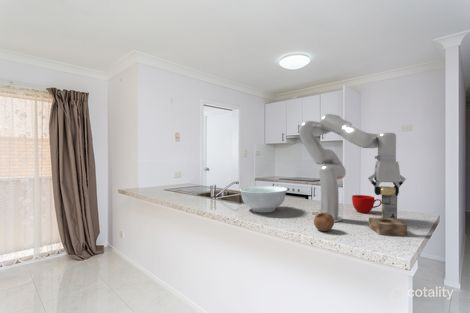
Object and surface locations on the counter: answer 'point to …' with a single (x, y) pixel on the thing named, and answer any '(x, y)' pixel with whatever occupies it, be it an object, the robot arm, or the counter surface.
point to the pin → (387, 194)
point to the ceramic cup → (364, 203)
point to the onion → (323, 221)
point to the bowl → (263, 197)
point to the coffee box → (390, 209)
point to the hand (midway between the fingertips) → (386, 194)
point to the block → (388, 226)
